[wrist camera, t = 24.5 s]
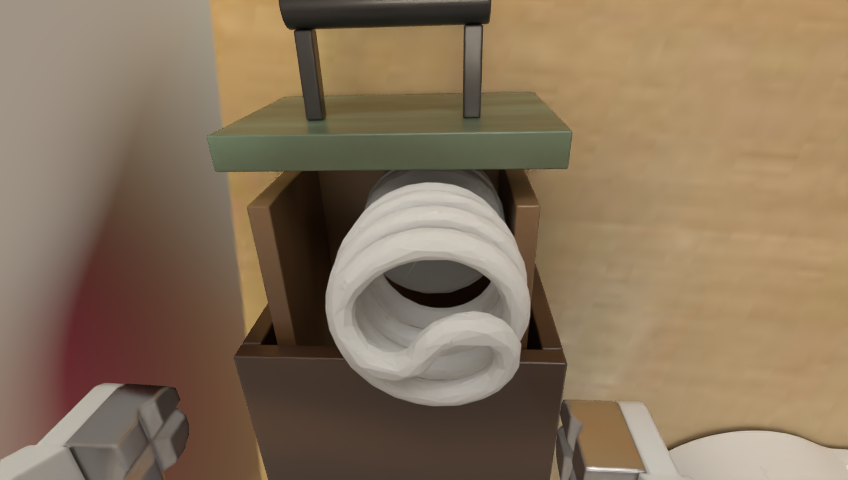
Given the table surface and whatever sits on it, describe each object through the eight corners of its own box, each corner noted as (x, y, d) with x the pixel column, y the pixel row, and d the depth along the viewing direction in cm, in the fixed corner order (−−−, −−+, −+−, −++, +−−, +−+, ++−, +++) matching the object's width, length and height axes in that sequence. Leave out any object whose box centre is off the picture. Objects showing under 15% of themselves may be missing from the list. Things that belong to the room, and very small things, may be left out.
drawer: (265, -10, 19) (166, -21, 12) (543, -20, 18) (593, -37, 12) (324, 344, 27) (283, 448, 21) (514, 347, 27) (533, 456, 20)
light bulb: (504, 129, 20) (570, 263, 9) (490, 243, 22) (528, 454, 12) (376, 122, 20) (290, 244, 9) (376, 236, 22) (309, 438, 12)
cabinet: (303, 246, 25) (232, 357, 17) (530, 246, 24) (568, 363, 16) (335, 438, 32) (296, 581, 24) (512, 444, 32) (533, 593, 23)
